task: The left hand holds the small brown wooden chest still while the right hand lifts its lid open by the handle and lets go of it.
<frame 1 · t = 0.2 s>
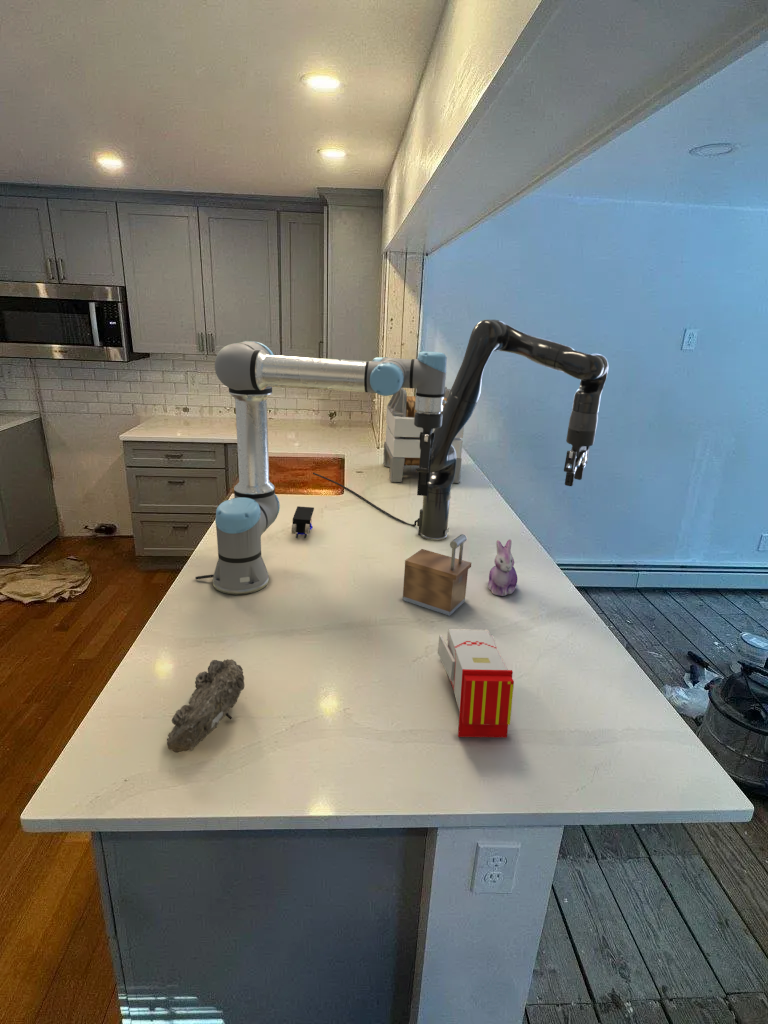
left hand: (423, 487, 159), 28 cm above the counter, tool pointing down, fingers open, 13 cm apart
right hand: (573, 482, 165), 29 cm above the counter, tool pointing down, fingers open, 8 cm apart
lid: (439, 549, 150), point 15 cm above the counter, hinge at 0.0°
fossil: (212, 717, 108), on the counter
chest: (433, 600, 155), on the counter
transformer: (419, 473, 275), on the counter
figurine character: (303, 533, 197), on the counter
toy: (469, 691, 119), on the counter
figurine: (502, 589, 163), on the counter
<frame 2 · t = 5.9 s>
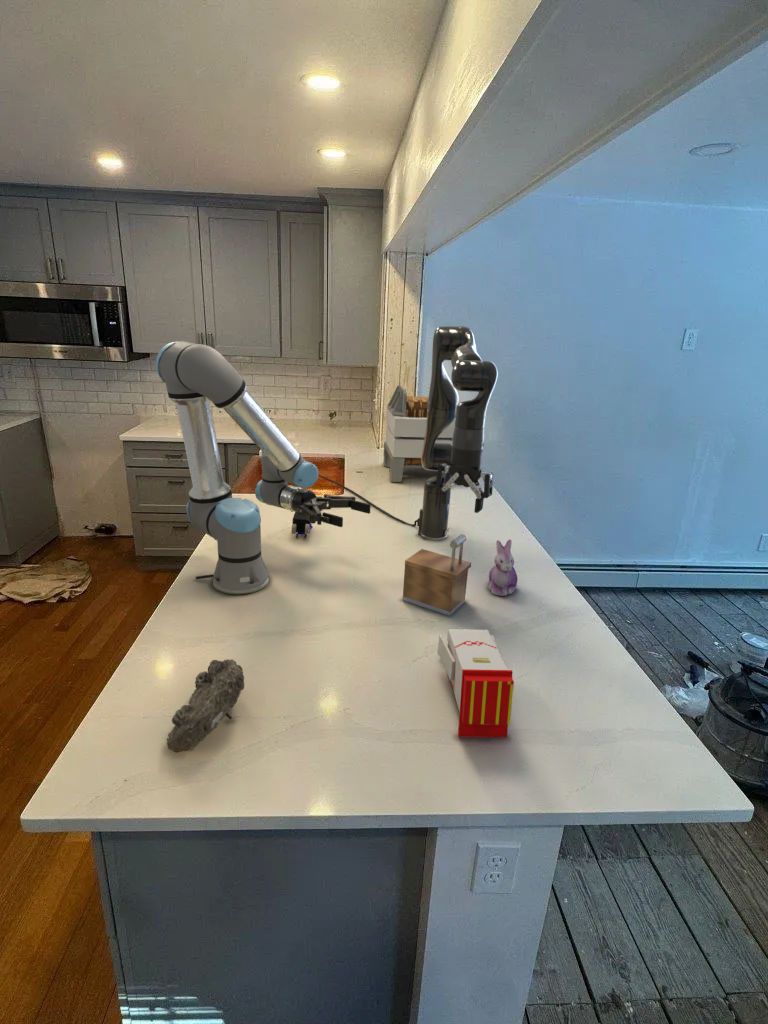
left hand: (356, 515, 161), 19 cm above the counter, tool horizontal, fingers open, 13 cm apart
right hand: (461, 508, 143), 28 cm above the counter, tool pointing down, fingers open, 8 cm apart
nothing on the counter moved.
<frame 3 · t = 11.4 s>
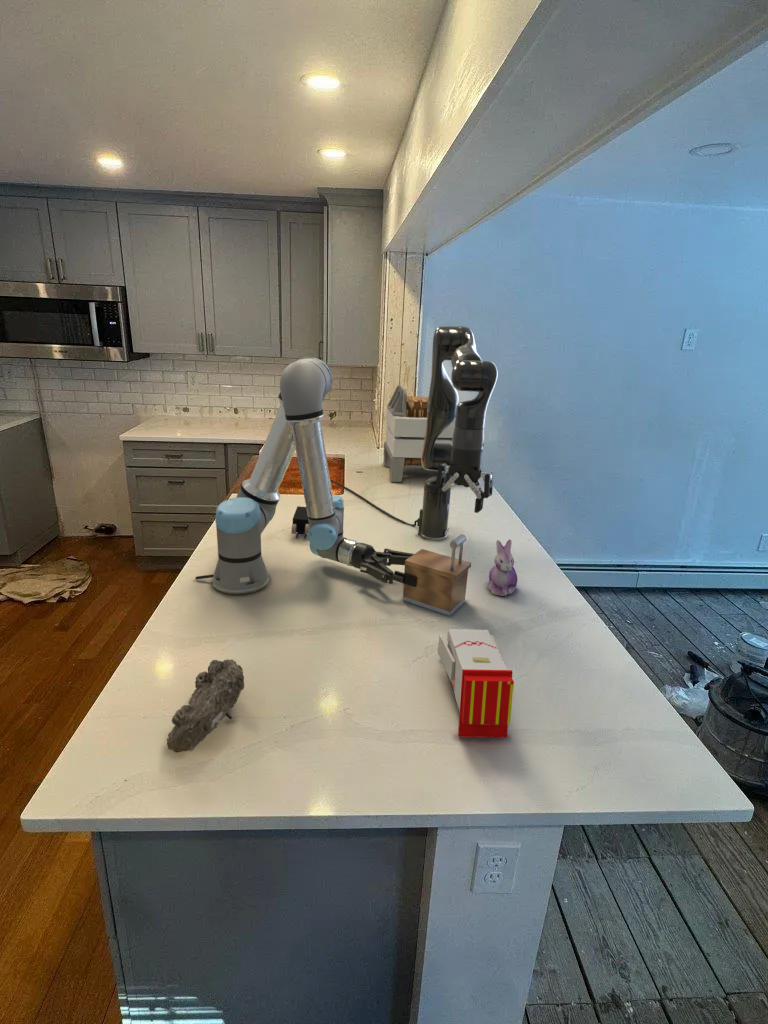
left hand: (425, 575, 154), 7 cm above the counter, tool horizontal, fingers closed on chest, 9 cm apart
right hand: (461, 508, 143), 28 cm above the counter, tool pointing down, fingers open, 8 cm apart
chest: (433, 600, 155), on the counter, touching left hand
everything else where it was.
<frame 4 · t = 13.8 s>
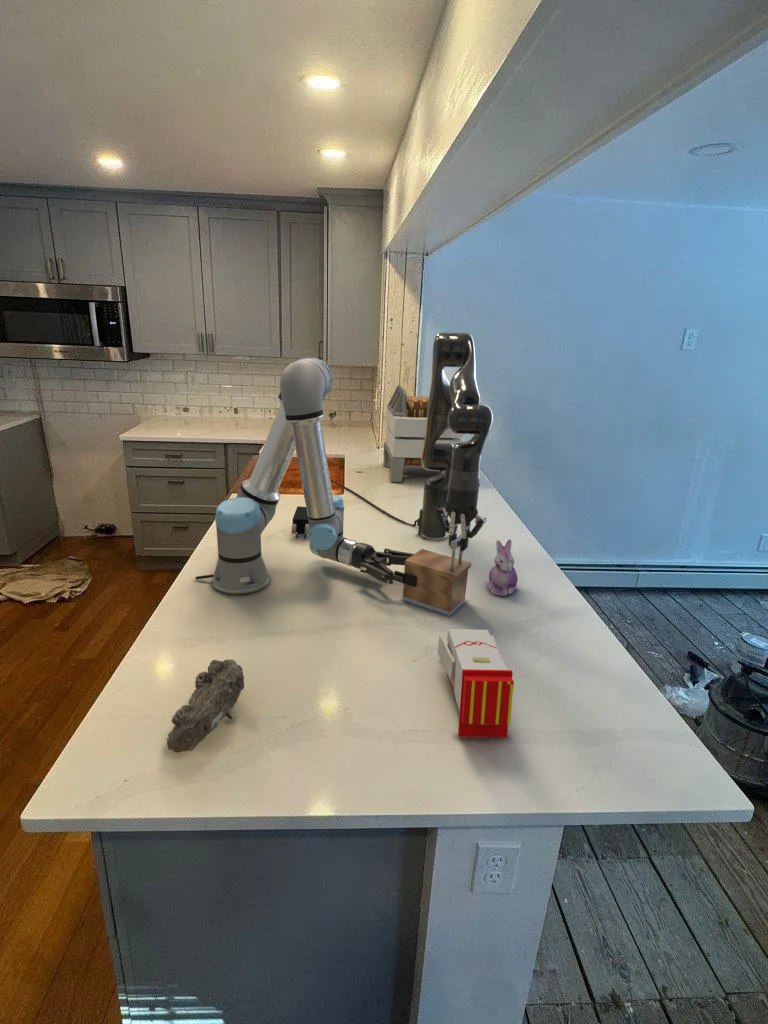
left hand: (425, 575, 154), 7 cm above the counter, tool horizontal, fingers closed on chest, 9 cm apart
right hand: (457, 548, 147), 17 cm above the counter, tool pointing down, fingers closed on lid, 2 cm apart
lid: (439, 549, 150), point 15 cm above the counter, hinge at -0.1°, touching right hand
chest: (433, 600, 155), on the counter, touching left hand
everything else where it was.
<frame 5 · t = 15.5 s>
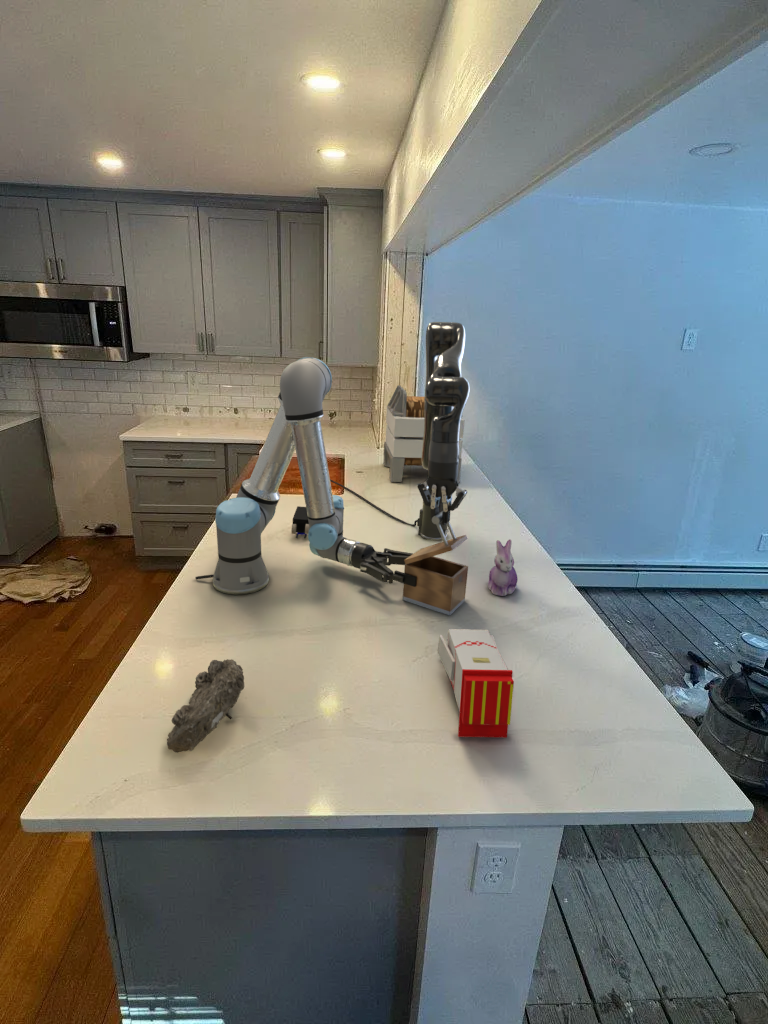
left hand: (425, 575, 154), 7 cm above the counter, tool horizontal, fingers closed on chest, 9 cm apart
right hand: (440, 522, 147), 23 cm above the counter, tool pointing down, fingers closed on lid, 2 cm apart
lid: (429, 535, 150), point 19 cm above the counter, hinge at 30.1°, touching right hand
chest: (433, 600, 155), on the counter, touching left hand
everything else where it was.
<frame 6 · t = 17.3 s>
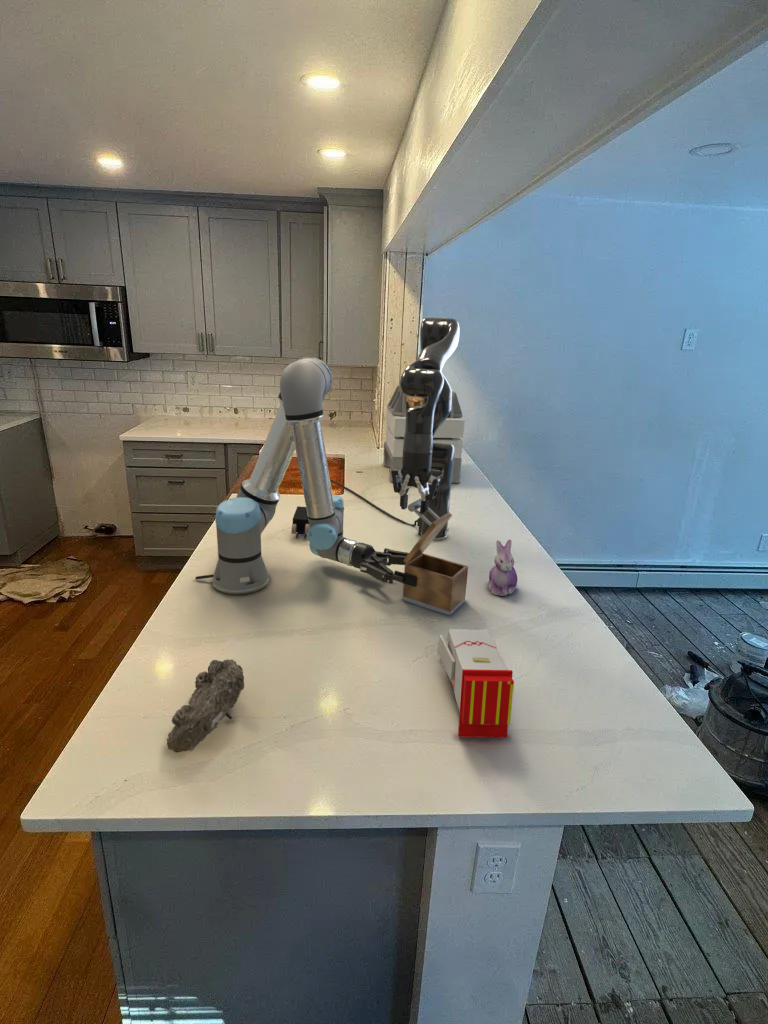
left hand: (425, 575, 154), 7 cm above the counter, tool horizontal, fingers closed on chest, 9 cm apart
right hand: (413, 510, 151), 24 cm above the counter, tool pointing down, fingers open, 5 cm apart
lid: (416, 527, 152), point 20 cm above the counter, hinge at 58.7°
chest: (433, 600, 155), on the counter, touching left hand
everything else where it was.
when the left hand's fingers open (7 cm above the counter, at t = 21.4 s): chest stays where it is, on the counter.
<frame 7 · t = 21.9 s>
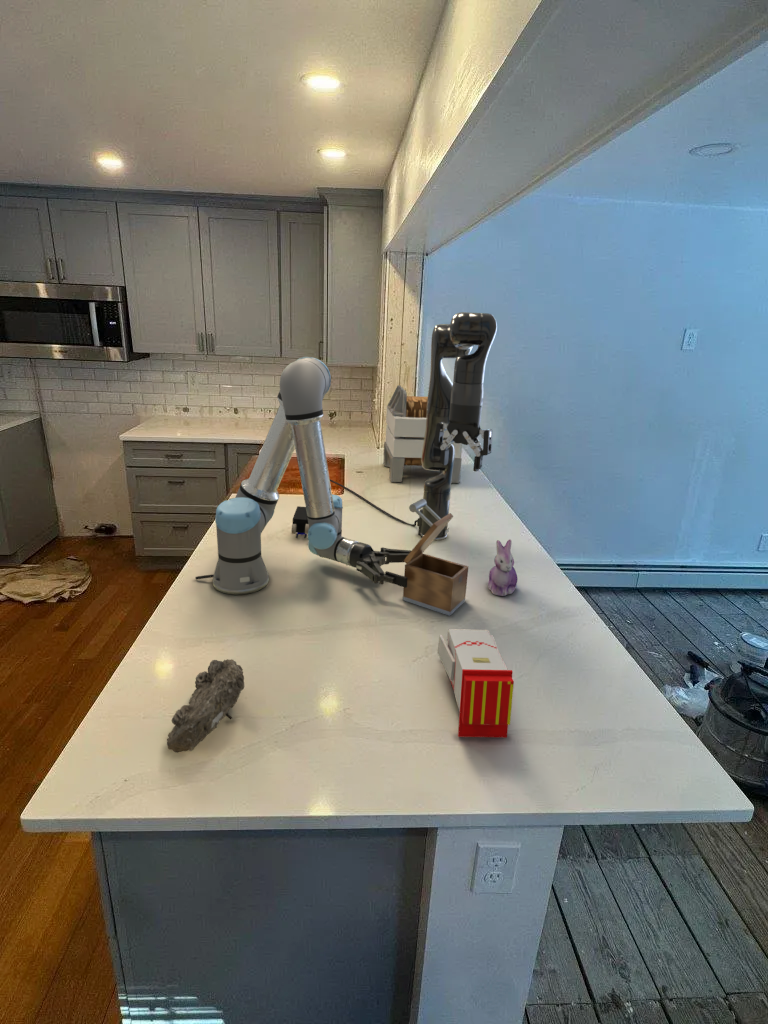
left hand: (419, 573, 155), 7 cm above the counter, tool horizontal, fingers open, 13 cm apart
right hand: (460, 467, 140), 38 cm above the counter, tool pointing down, fingers open, 8 cm apart
lid: (417, 527, 151), point 20 cm above the counter, hinge at 57.5°
chest: (433, 600, 155), on the counter
everything else where it was.
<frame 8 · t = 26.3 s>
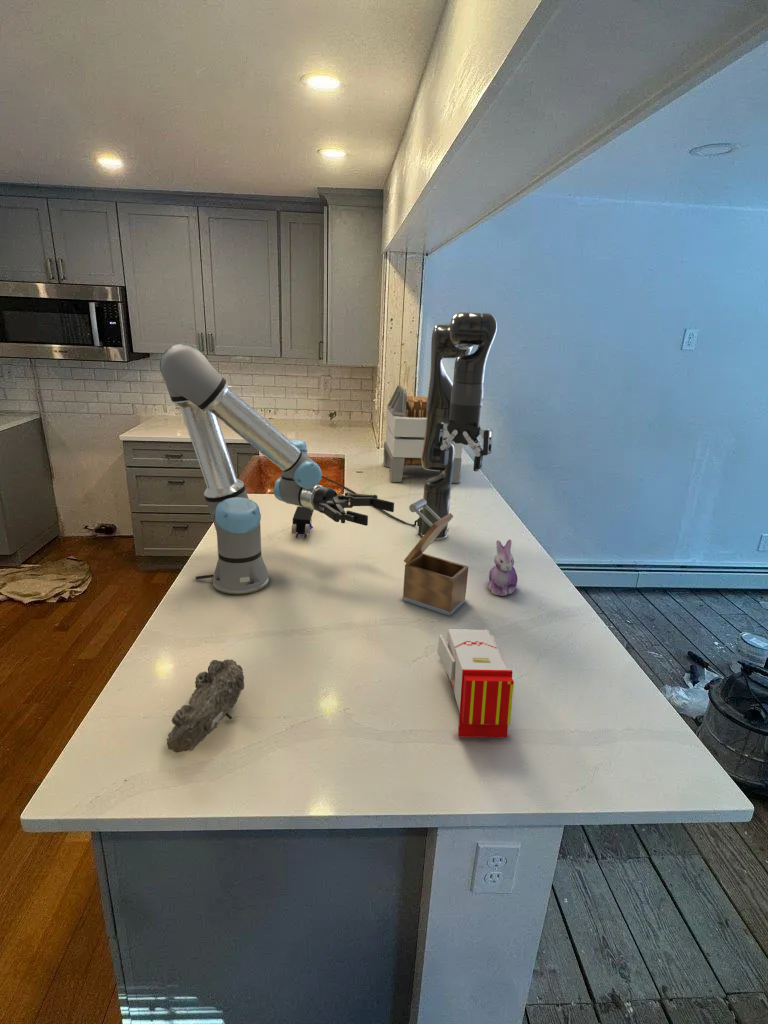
left hand: (380, 513, 157), 21 cm above the counter, tool horizontal, fingers open, 13 cm apart
right hand: (460, 467, 140), 38 cm above the counter, tool pointing down, fingers open, 8 cm apart
nothing on the counter moved.
at the end: lid at +58° (first picture: +0°); the left hand is holding nothing; the right hand is holding nothing; chest tilted 0°; chest never tilted more than 1° during the clip; chest moved 0.0 cm from its start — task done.
